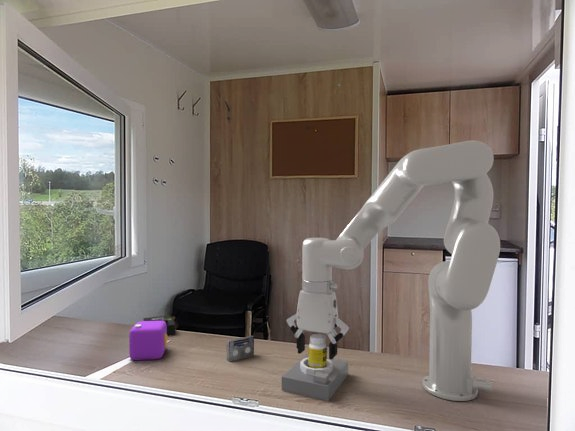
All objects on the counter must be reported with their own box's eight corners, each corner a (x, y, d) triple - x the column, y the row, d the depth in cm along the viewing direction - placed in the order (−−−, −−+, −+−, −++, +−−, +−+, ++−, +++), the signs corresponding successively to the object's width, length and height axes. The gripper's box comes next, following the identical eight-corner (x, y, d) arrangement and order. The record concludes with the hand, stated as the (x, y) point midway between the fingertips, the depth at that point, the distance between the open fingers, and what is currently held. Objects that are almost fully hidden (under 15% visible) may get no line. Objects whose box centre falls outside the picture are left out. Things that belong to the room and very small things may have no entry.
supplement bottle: (325, 373, 96) (326, 340, 96) (306, 372, 97) (307, 338, 97) (327, 366, 101) (327, 334, 101) (309, 364, 102) (310, 332, 102)
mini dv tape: (251, 354, 118) (251, 335, 118) (253, 356, 117) (254, 336, 117) (226, 360, 113) (226, 340, 113) (228, 362, 112) (228, 341, 112)
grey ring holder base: (348, 374, 104) (348, 356, 104) (328, 401, 90) (328, 380, 90) (306, 366, 109) (306, 348, 109) (281, 390, 95) (281, 370, 95)
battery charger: (143, 328, 143) (143, 317, 143) (170, 325, 147) (170, 315, 147) (146, 339, 131) (146, 328, 131) (175, 336, 135) (175, 324, 135)
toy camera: (167, 343, 127) (167, 313, 126) (168, 359, 114) (168, 325, 114) (131, 347, 123) (131, 316, 123) (128, 364, 110) (128, 329, 110)
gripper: (354, 286, 98) (353, 355, 99) (292, 280, 106) (291, 344, 106) (345, 292, 92) (345, 366, 92) (279, 286, 99) (279, 354, 100)
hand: (316, 354), depth 99 cm, fingers open, 8 cm apart
